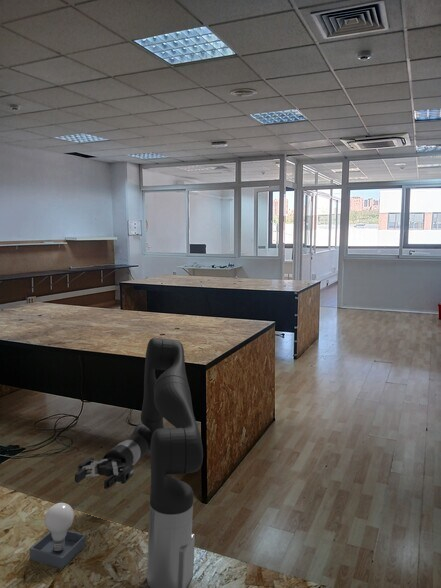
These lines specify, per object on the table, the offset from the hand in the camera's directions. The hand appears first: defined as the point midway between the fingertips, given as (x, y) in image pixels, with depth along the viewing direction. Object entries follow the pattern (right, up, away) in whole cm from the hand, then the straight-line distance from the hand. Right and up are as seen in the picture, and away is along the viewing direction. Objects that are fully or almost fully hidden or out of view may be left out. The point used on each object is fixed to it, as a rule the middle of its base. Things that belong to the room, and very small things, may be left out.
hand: (90, 482), depth 113 cm
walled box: (-5, -12, -10) cm, 16 cm away
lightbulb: (-5, -12, -10) cm, 16 cm away
